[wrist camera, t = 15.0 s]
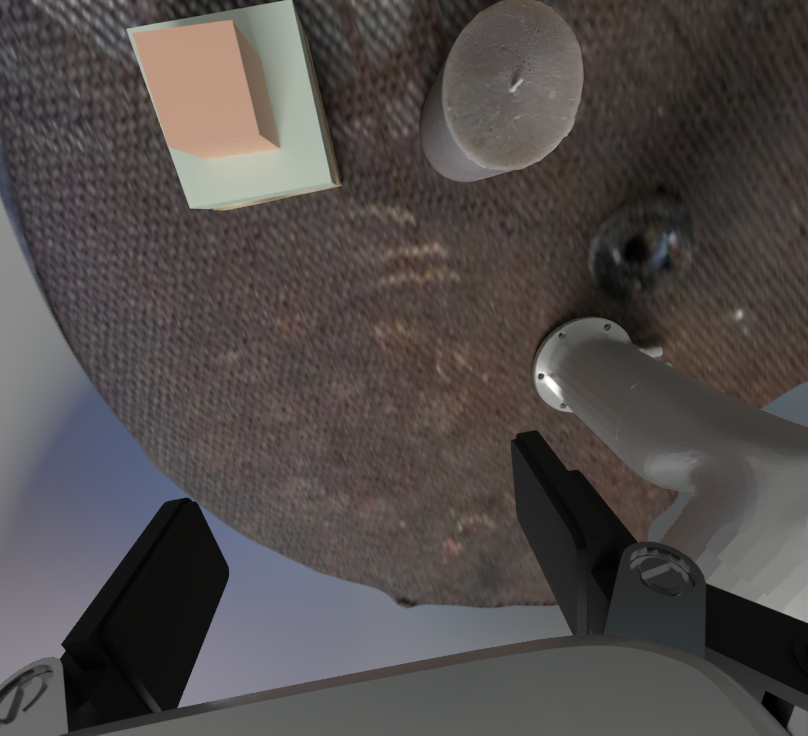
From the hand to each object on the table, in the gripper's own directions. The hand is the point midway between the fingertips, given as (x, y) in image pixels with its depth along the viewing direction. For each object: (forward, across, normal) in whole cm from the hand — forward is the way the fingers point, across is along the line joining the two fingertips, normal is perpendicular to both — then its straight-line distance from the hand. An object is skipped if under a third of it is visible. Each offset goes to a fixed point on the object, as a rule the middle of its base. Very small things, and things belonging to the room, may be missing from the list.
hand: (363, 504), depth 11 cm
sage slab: (+31, +7, -17) cm, 36 cm away
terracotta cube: (+27, +7, -17) cm, 33 cm away
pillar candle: (+34, -13, -14) cm, 39 cm away
